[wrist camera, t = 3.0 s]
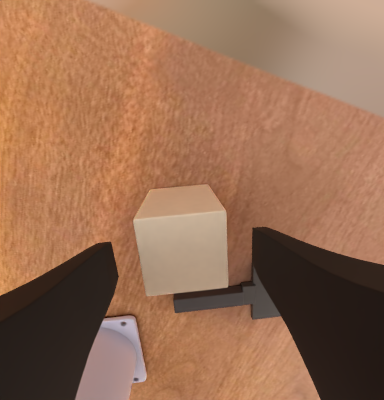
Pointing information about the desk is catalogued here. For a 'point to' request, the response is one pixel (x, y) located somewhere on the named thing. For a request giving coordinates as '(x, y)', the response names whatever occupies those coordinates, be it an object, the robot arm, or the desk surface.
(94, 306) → the robot arm
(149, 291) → the cream block
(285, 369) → the desk surface
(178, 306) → the spatula
